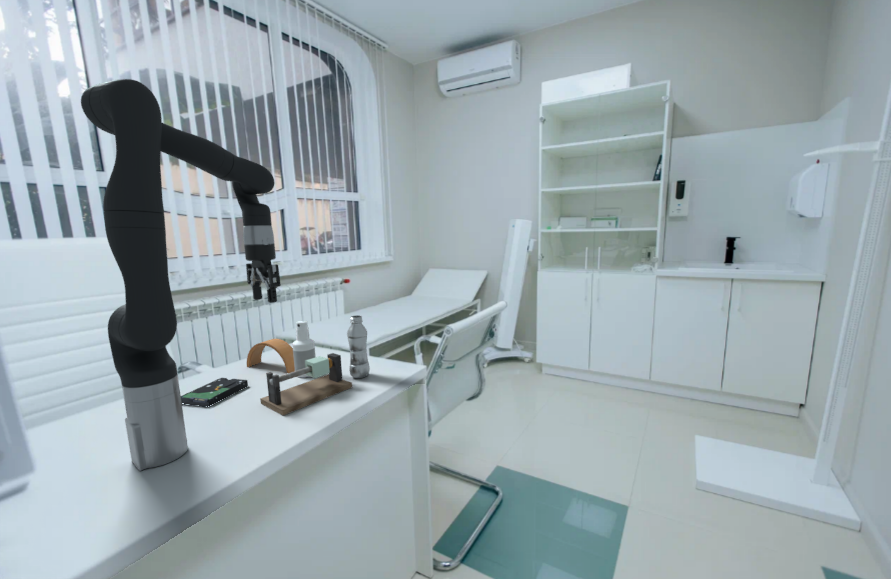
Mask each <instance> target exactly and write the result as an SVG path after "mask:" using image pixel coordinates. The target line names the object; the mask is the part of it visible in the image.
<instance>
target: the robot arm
mask: <svg viewBox="0 0 891 579" xmlns="http://www.w3.org/2000/svg"><path fill="white" fill-rule="evenodd" d="M80 105H81V109H82V111H83V113H84V115H85V116H86V118H87V119H88V120H89V122H90V123H92V124H93V125H94V126H95V127H96V128H98V129H100V130H101V131H103V132H104V133H107V134H110V135H113V136H114V140H115V148H116V150H115V151H116V152H115V159H114V164H113V169H112V171H111V173H110V177H109V179H108V182H107V185H106V188H105V192H104V195H103V218H104V228H105V229H104V230H105V234H106V238H107V242H108V245H109V247H110V250H111V253H112V255H113V257H114V260H115V262H116V265H117V266H118V269H119V271H120V273H121V276H122V279H123V284H124V295H125V303H124V304H123V305H120V306H119V307H117V308H116V309H115V310H114V311H113V312H112V313H111V315H110V317H109V320H108V322H107V336H108V341H109V346H110V351H111V356H112V361H113V364H114V365H113V366H114V368H115V371H116V372H117V375H118V376H119V378H120V383H121V388H122V395H123V401H124V405H125V406H124V407H125V408H124V409H125V414H126V417H125V419H124V424H125V428H126V434H127V440H128V446H129V452H130V454H129V455H130V458H131V462H132V463H133V464H134V466H135V467H136V468H137V470H138V471H139V472H140V471H144V470H146V469H151V468H155V467H160V466H164V465H167V464H169V463H172V462H174V461H175V460H177V459H179V458H180V457H182V456H184V455H185V454H186V452H187V451H188V448H189V445H188V438H187V432H186V425H185V424H186V423H185V419H184V410H183V404H182V402H181V396H182V395H181V389H180V382H179V376H178V375H179V374H178V368H177V367H178V365H177V363H176V362H175V359H173V358H172V356H171V355H170V353H169V352H168V349H167V345H169V344H170V343H171V342H172V341H173V339H174V337H175V335H176V332H177V327H178V318H177V314H176V313H177V312H176V310H175V305H174V300H173V296H172V290H171V284H170V279H169V278H170V277H169V264H168V252H167V251H168V250H167V248H168V247H167V231H166V221H165V220H166V219H165V209H164V200H163V187H162V186H163V183H162V172H161V171H162V170H161V168H162V167H161V153H163V154H166V155H169V156H172V157H173V158H175V159H178V160H180V161H182V162H185V163H186V164H187V163H188V164H189V165H191V166H194V168H195V167H196V168H198V169H199V170H201V171H203V172H205V173H208V174H209V175H211V176H213V177H215V178H217V179H219V180H222V181H225V182H231V184H232V185H231V186H232V188H233V189H232V190H233V193H234V195H235V197H236V199H237V202H238V205H239V208H240V210H241V217H242V218H241V219H242V225H243V229H242V230H243V232H242V236H243V237H242V238H243V246H244V255H245V256H244V257H245V260H246V261H248V262H249V263H245V267H246V268H245V269H246V280H247V281H246V282H247V285H250V287H251V289H252V298H253V300H254V301H258V300H262V299H263V292H262V290H263V289H262V286H261V285H262V283H263V284H264V286H265V287H266V293H267V294H266V295H267V302H268V303H269V304H274V303H277V301H278V295H277V289H278V287H281V278H280V269H279V265H278V264H272V260H275V259H276V258H277V257H276V247H275V245H276V244H275V235H274V230H273V224H272V213H271V209H270V206H268V205H267V204H265V203H260V200H259V199H258V196H257V195H266V194H268V193H271V191H273V189H274V187H275V178H274V175H273V174H272V173H271V171H270V170H269V169H268V168H266V167H265V166H263V165H261V164H260V163H258V162H255V161H251V160H249V159H247V158H243V157H240V156H237V155H235V154H234V153H232V152H231V151H229V150H228V149H226V148H224V147H222V146H221V145H219V144H217V143H215V142H213V141H211V140H209V139H207V138H205V137H202V136H198V135H196V134H193V133H191V132H188V131H187V132H186V131H184V130H181V129H179V128H175V127H173V126H170V125H168V124H166V123H164V122H162V121H163V120H162V111H161V108H160V104H159V101H158V100H157V97H156V96H155V95H154V93H153V92H152V91H151V90H150V88H148V86H146V85H145V84H144V83H143V82H140V81H138V80H135V79H132V78H119V79H113V80H110V81H106V82H101V83H97V84H94V85H92V86H89V87H88V88H86V89H85V90H84V91H83V92H82V94H81V98H80ZM250 262H251V263H250Z"/></svg>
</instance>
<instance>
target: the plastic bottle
mask: <svg viewBox="0 0 891 579" xmlns="http://www.w3.org/2000/svg"><path fill="white" fill-rule="evenodd" d="M363 321H364V320H363V316H362V315H351V316H350V323H349V324H350V326H349V327H348V329H347V332H346V336H347V341H348V346H349V347H348V348H349V354H350V355H349V357H350V359H349V371H348V372H349V375H350V376H351V377H352V378H353V379H362V378H365V377H367V376H369V374H370V370H371V367H370V362H369V358H368V350H367V347H368V346H367V342H368V330H367V328H366V327H365V326H364V324H363Z"/></svg>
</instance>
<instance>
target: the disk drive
mask: <svg viewBox="0 0 891 579" xmlns="http://www.w3.org/2000/svg"><path fill="white" fill-rule="evenodd" d="M248 383H249V382H248V379H241V378H231V379H228V378H227V377H219V378H218V379H215V380H213V381H211V382H209V383H207V384H205V385H202V386H200V387H197V388H195V389H193V390H191V391H189V392H186V393H185V394H183V395H181V402H182V403H184V404H190V405H189V406H192V405H199V406H198V407H200V406H207V407H206V408H209V407H208V406H210V405H212V404H214V403H216V402H218V401H220V400H221V401H223V400H225V399H227V398H229V397H231V396H232V394H233V395H235V394H237V393H238V391H239V390H241V389H243V388H244V389H246V388H248V387H249V384H248ZM247 386H248V387H247ZM245 387H246V388H245ZM244 389H243V390H244ZM241 391H242V390H241ZM236 392H237V393H236ZM239 392H240V391H239ZM234 393H235V394H234ZM230 395H231V396H230ZM228 396H229V397H228ZM226 397H227V398H226ZM224 398H225V399H224ZM222 399H223V400H222ZM221 401H220V402H221ZM218 403H219V402H218ZM216 404H217V403H216ZM214 405H215V404H214ZM212 406H213V405H212ZM210 407H211V406H210Z"/></svg>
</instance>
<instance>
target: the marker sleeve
mask: <svg viewBox="0 0 891 579" xmlns="http://www.w3.org/2000/svg"><path fill="white" fill-rule="evenodd" d="M305 366H306V368H307V367H310V366H312V372H309V373H306V375H308V376H310V377H311V378H313V379H317V378H320V377H322V376H325V375H328V374H329V373H330V371H329V359H328V357H324V356H321V355H320V356H316V357H315V358H312V359H309V360H305Z"/></svg>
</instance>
